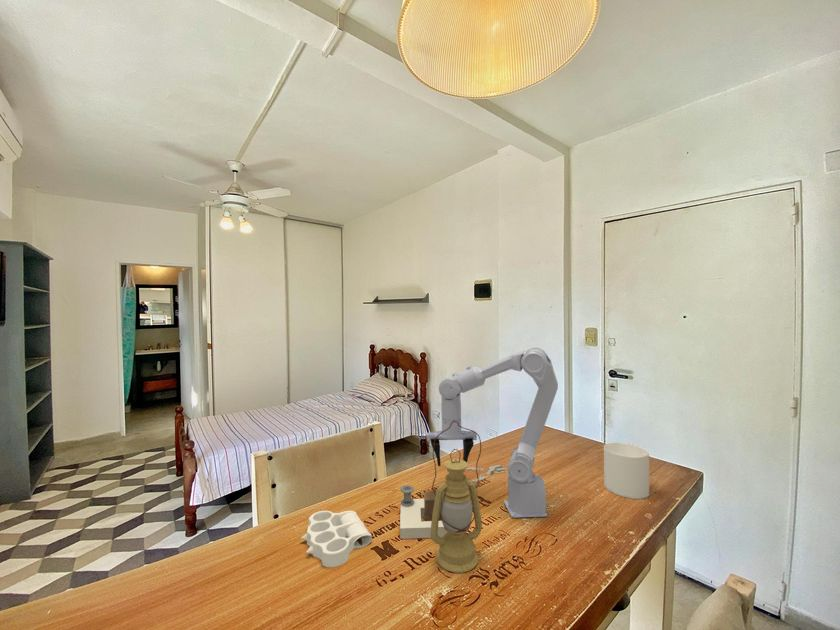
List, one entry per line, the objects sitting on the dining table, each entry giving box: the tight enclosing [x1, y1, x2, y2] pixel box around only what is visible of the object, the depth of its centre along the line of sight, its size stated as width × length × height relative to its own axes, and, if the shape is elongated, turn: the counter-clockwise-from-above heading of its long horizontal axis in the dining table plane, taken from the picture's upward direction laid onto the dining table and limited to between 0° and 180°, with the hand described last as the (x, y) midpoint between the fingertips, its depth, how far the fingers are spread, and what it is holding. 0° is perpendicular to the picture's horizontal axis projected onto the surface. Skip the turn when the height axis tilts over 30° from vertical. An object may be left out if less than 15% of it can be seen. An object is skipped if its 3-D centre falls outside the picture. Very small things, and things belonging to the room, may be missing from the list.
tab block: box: [423, 491, 436, 521], centre depth 88 cm, size 4×4×7 cm
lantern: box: [430, 421, 483, 574], centre depth 76 cm, size 12×10×30 cm
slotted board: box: [399, 484, 447, 540], centre depth 89 cm, size 12×13×6 cm
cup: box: [603, 442, 650, 500], centre depth 104 cm, size 12×12×12 cm
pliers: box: [465, 464, 507, 483], centre depth 116 cm, size 10×2×15 cm
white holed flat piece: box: [300, 510, 373, 568], centre depth 82 cm, size 3×18×15 cm
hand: (452, 464), depth 101 cm, fingers open, 7 cm apart
